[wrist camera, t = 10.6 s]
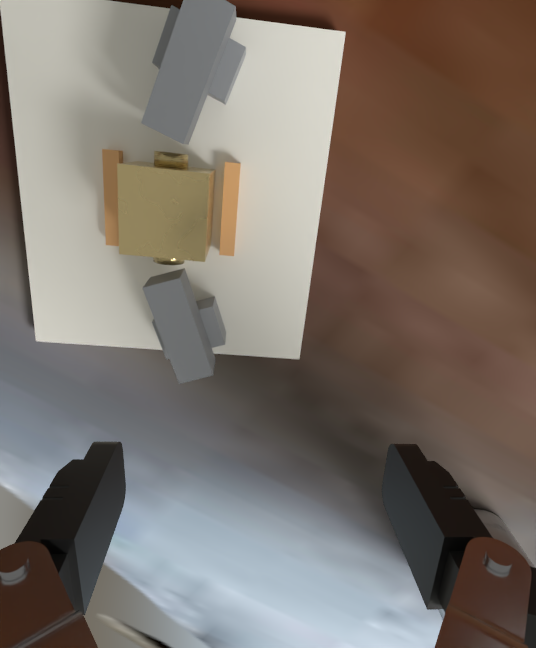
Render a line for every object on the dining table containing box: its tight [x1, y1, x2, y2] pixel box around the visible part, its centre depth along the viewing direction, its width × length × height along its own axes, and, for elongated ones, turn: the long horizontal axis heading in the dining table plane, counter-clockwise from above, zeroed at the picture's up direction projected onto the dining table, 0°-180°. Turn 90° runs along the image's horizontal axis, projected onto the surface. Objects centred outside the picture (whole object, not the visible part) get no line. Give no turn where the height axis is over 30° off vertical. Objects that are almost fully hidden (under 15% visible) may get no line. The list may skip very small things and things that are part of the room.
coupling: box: [117, 151, 215, 265], centre depth 27 cm, size 7×5×5 cm
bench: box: [0, 0, 346, 384], centre depth 28 cm, size 22×20×6 cm
